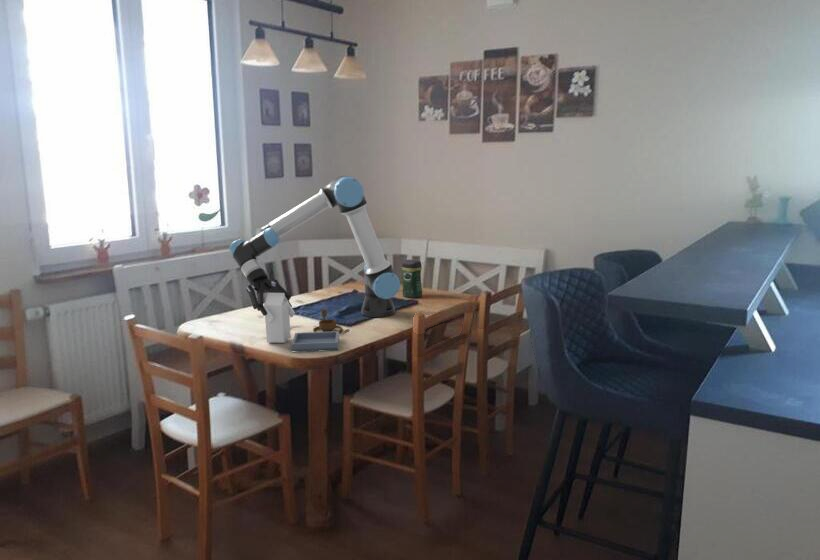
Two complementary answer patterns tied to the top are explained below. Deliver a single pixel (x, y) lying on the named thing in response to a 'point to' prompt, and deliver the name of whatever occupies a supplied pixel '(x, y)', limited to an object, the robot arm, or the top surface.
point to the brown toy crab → (327, 324)
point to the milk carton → (278, 318)
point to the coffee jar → (412, 278)
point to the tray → (315, 341)
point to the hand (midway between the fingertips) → (282, 318)
